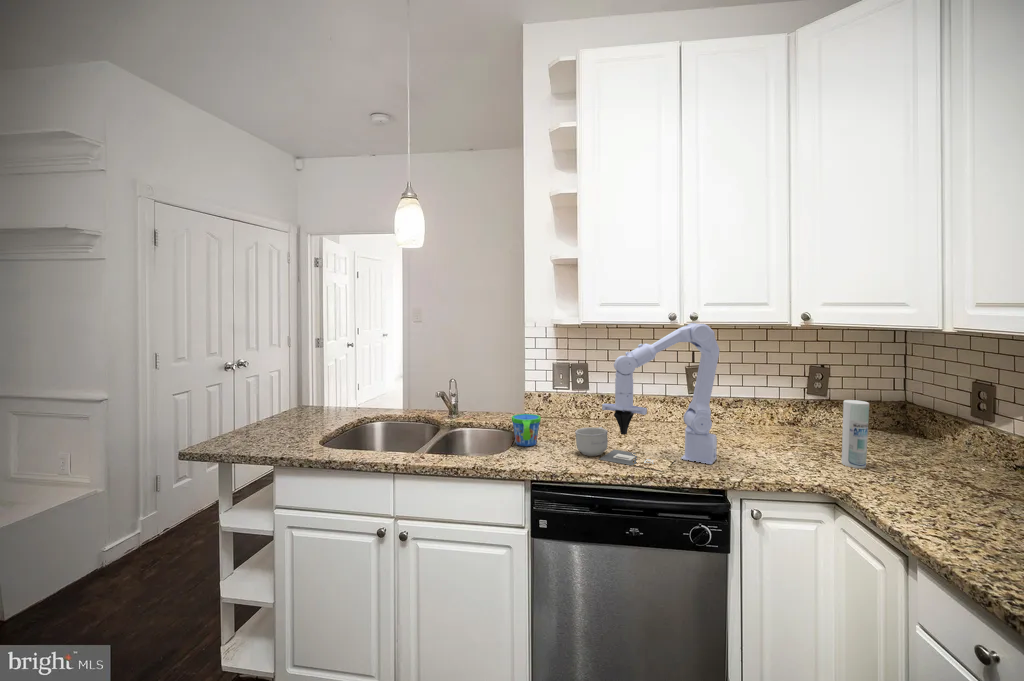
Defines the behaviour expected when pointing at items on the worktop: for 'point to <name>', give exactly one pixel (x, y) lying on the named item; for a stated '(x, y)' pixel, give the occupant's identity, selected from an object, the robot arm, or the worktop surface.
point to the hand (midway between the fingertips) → (623, 433)
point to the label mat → (622, 457)
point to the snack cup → (526, 429)
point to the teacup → (591, 440)
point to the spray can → (855, 433)
